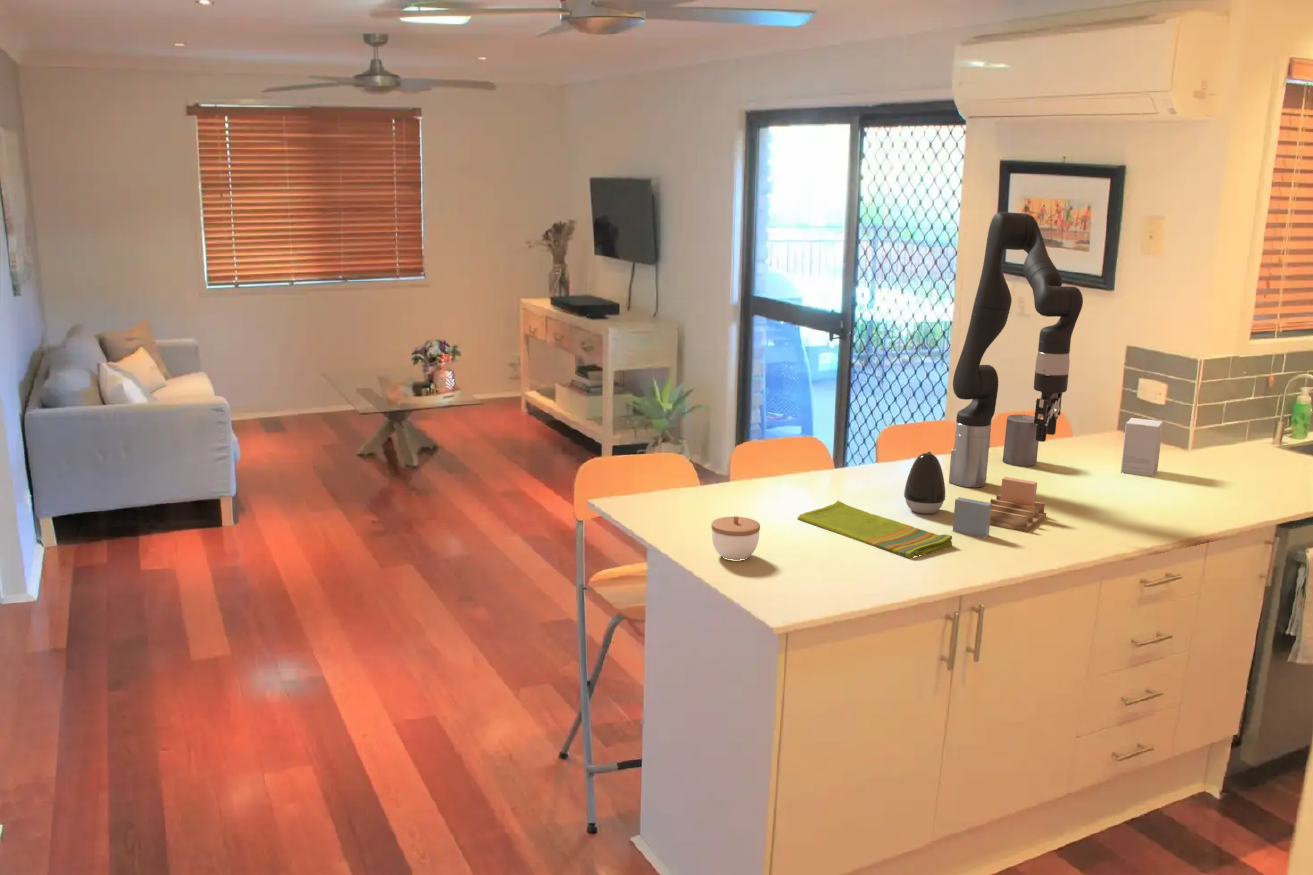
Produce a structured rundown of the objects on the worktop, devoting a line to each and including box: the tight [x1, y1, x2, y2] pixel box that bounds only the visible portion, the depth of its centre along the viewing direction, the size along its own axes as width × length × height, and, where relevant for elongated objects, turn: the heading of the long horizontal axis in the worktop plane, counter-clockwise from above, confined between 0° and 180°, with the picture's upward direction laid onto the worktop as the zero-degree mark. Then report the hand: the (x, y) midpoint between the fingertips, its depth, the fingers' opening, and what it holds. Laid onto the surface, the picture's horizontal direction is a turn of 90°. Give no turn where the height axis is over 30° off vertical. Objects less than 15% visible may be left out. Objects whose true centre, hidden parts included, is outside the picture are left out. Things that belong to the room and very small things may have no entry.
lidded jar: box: [711, 515, 761, 560], centre depth 242 cm, size 11×11×9 cm
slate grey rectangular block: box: [952, 496, 992, 538], centre depth 260 cm, size 8×2×8 cm, turn 54°
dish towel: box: [797, 500, 953, 559], centre depth 261 cm, size 15×36×3 cm, turn 38°
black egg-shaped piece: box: [903, 451, 946, 515], centre depth 276 cm, size 10×10×15 cm
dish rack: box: [989, 494, 1047, 533], centre depth 272 cm, size 13×15×4 cm
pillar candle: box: [1002, 413, 1040, 467], centre depth 325 cm, size 10×10×15 cm
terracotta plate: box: [1000, 476, 1038, 507], centre depth 275 cm, size 8×2×8 cm, turn 54°
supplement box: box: [1120, 417, 1164, 478], centre depth 317 cm, size 9×9×15 cm
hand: (1045, 437), depth 262 cm, fingers open, 8 cm apart
